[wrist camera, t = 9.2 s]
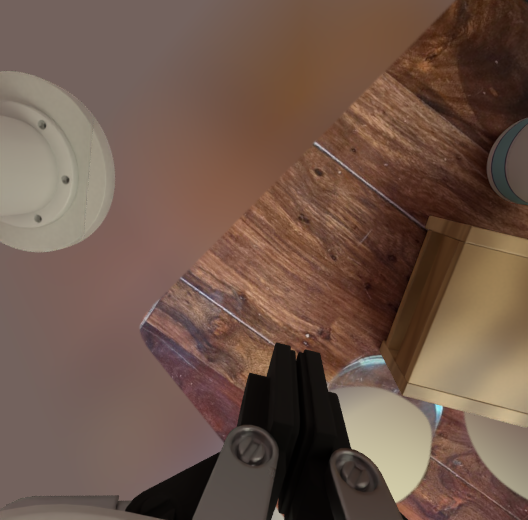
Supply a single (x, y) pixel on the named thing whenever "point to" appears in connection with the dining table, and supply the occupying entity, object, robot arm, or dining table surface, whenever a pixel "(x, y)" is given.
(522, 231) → the dining table surface
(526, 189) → the beverage can
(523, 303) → the gold flanged block
